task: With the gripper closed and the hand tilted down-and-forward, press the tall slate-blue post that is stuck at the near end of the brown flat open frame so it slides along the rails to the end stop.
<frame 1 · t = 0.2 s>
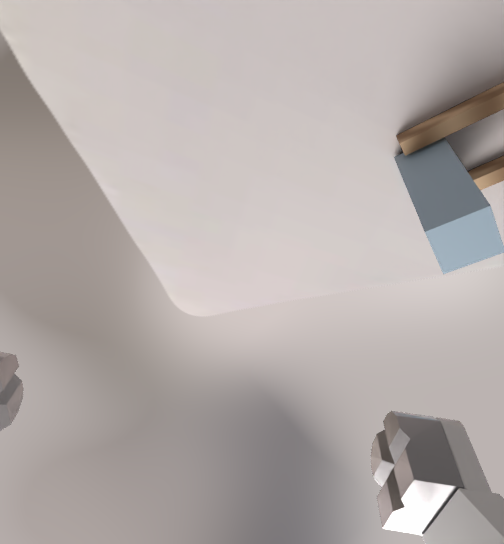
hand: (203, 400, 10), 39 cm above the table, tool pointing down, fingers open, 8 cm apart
brown flat open frame: (489, 134, 44), on the table
block: (442, 198, 41), point 7 cm above the table, slide at 0.0 cm
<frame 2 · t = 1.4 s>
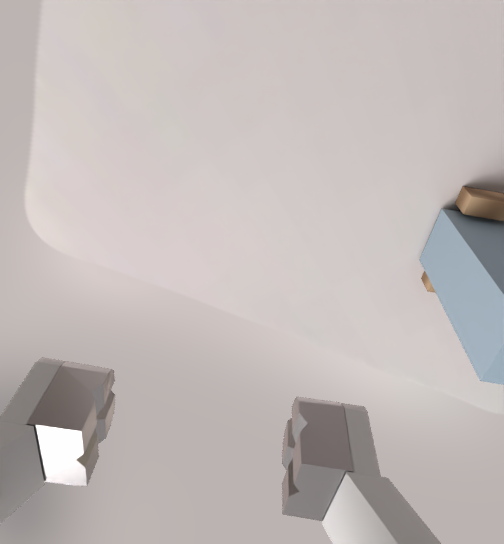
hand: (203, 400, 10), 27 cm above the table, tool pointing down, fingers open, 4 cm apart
block: (492, 287, 31), point 7 cm above the table, slide at 0.0 cm
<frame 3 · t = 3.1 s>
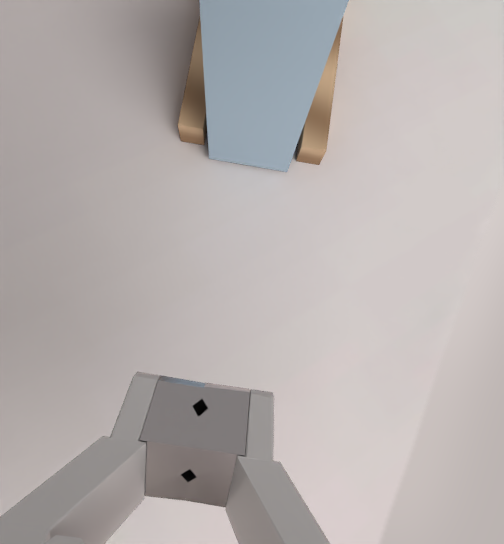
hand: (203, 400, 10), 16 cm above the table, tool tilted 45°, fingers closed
brown flat open frame: (267, 45, 30), on the table
block: (264, 56, 21), point 7 cm above the table, slide at 0.0 cm
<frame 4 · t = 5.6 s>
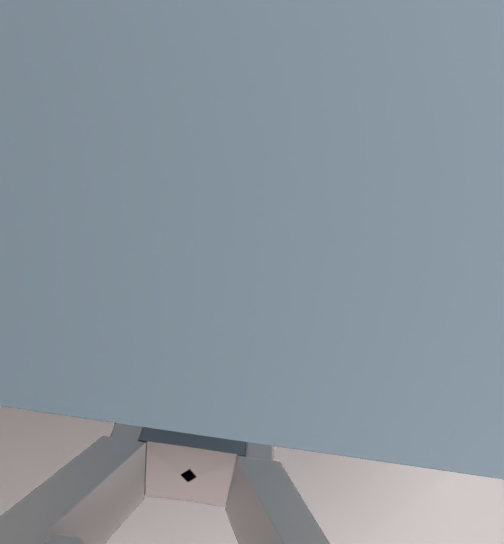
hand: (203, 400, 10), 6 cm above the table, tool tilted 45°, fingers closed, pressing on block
block: (231, 253, 9), point 7 cm above the table, slide at 0.9 cm, touching gripper
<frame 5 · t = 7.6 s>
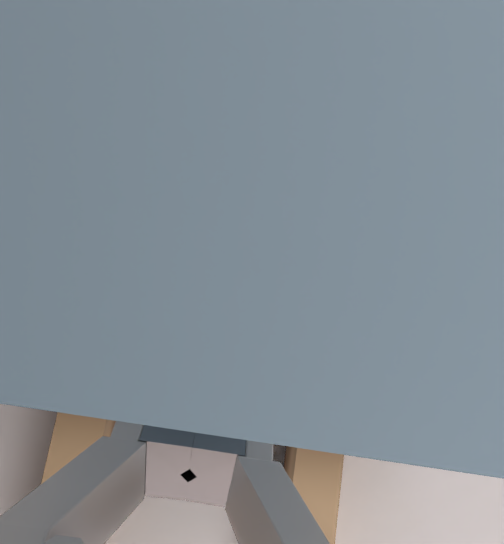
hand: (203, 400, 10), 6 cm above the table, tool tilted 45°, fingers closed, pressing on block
brown flat open frame: (211, 386, 16), on the table
block: (228, 253, 9), point 7 cm above the table, slide at 9.8 cm, touching gripper
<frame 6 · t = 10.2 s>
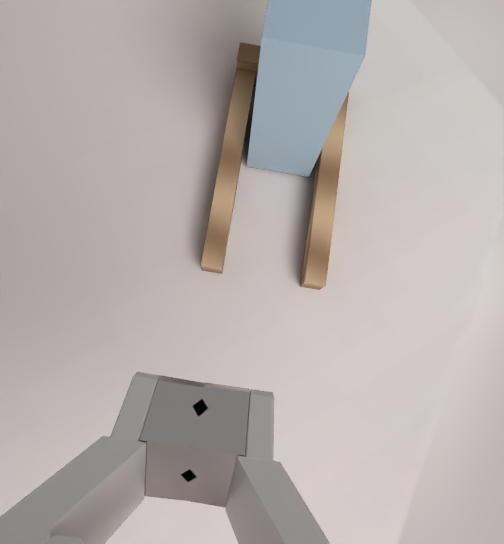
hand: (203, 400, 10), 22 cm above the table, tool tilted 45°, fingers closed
brown flat open frame: (276, 182, 35), on the table
block: (296, 89, 28), point 7 cm above the table, slide at 9.8 cm
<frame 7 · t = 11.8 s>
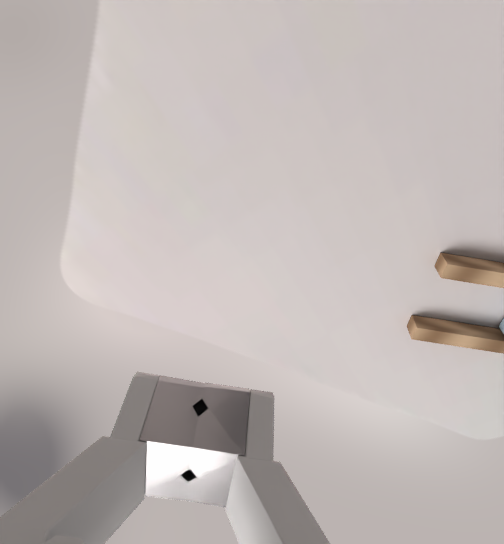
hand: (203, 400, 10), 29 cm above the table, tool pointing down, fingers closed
brown flat open frame: (501, 304, 43), on the table
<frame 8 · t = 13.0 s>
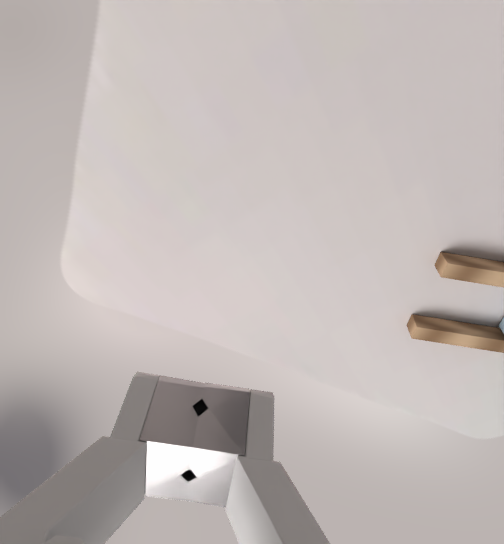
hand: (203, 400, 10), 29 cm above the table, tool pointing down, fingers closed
brown flat open frame: (501, 303, 43), on the table
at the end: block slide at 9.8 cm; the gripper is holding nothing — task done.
